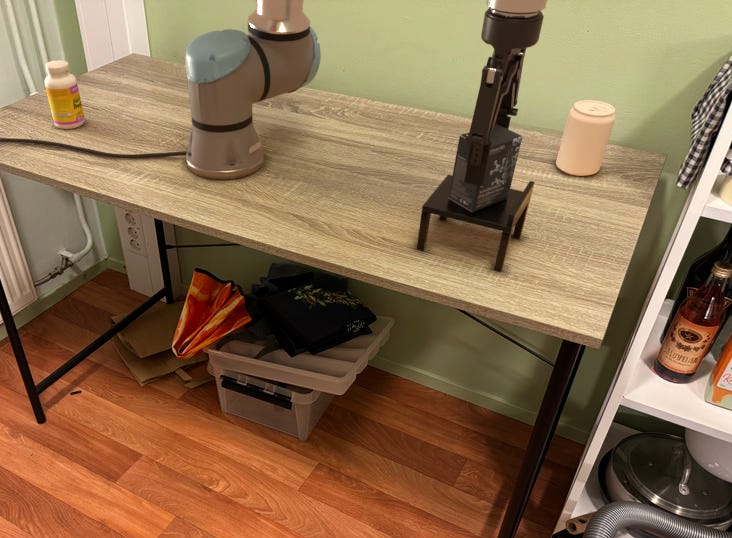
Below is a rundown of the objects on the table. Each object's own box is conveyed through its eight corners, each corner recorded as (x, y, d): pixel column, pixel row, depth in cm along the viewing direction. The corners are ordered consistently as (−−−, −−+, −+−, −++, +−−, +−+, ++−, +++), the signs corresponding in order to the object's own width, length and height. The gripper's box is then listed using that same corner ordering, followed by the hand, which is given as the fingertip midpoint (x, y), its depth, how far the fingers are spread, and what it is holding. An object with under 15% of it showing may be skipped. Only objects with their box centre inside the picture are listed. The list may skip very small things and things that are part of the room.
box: (473, 213, 104) (486, 147, 97) (447, 198, 107) (457, 134, 100) (509, 199, 107) (524, 134, 100) (482, 185, 110) (495, 122, 103)
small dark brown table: (416, 249, 111) (424, 193, 104) (441, 216, 119) (449, 163, 112) (500, 272, 106) (514, 215, 99) (521, 236, 114) (534, 181, 107)
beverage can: (550, 159, 135) (566, 99, 127) (591, 159, 135) (609, 99, 127) (561, 178, 129) (578, 116, 121) (604, 178, 129) (624, 116, 121)
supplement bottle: (81, 130, 148) (68, 69, 139) (51, 130, 148) (36, 69, 140) (88, 117, 153) (76, 58, 144) (59, 118, 153) (45, 58, 145)
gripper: (521, 37, 80) (486, 206, 95) (562, -7, 95) (526, 147, 110) (460, 28, 83) (435, 194, 98) (509, -13, 97) (481, 138, 112)
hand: (483, 169), depth 104 cm, fingers closed on box, 9 cm apart
